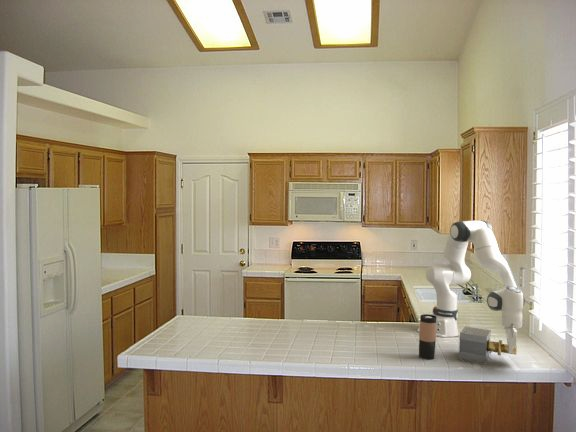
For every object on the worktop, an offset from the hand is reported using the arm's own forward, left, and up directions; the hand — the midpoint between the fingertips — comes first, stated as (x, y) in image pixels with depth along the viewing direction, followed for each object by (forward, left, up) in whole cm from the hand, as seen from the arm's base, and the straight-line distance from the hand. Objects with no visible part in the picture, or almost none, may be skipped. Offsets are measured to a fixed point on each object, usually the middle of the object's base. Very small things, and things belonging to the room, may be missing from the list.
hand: (510, 351), depth 248 cm
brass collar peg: (-5, 0, -3) cm, 6 cm away
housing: (-16, 0, -6) cm, 17 cm away
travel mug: (-36, -12, -6) cm, 38 cm away
